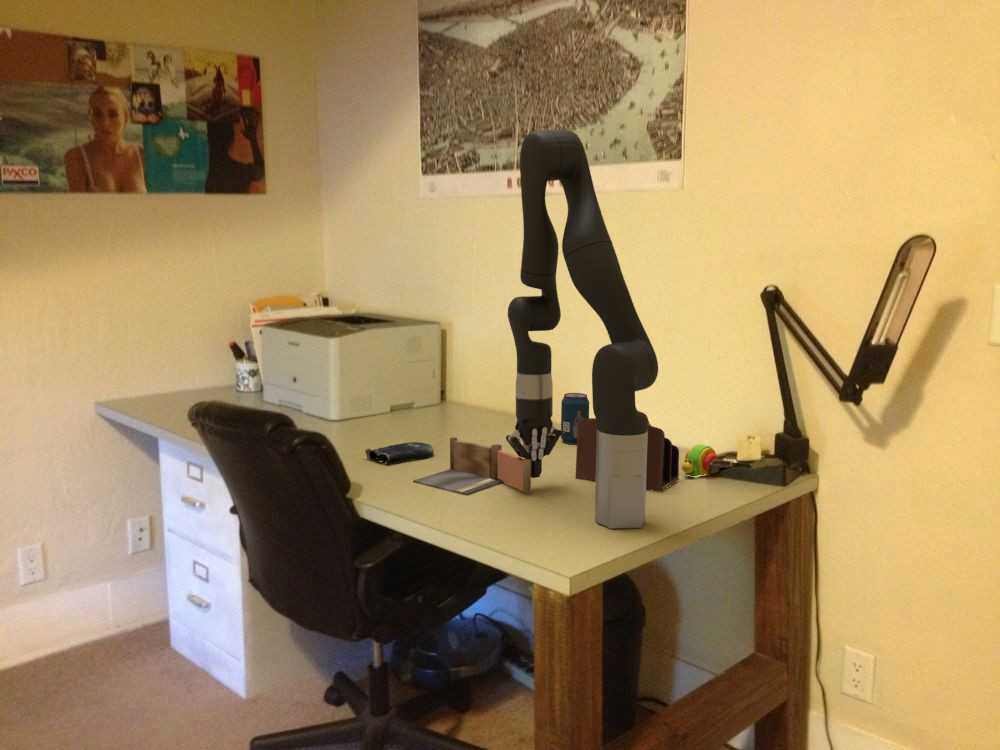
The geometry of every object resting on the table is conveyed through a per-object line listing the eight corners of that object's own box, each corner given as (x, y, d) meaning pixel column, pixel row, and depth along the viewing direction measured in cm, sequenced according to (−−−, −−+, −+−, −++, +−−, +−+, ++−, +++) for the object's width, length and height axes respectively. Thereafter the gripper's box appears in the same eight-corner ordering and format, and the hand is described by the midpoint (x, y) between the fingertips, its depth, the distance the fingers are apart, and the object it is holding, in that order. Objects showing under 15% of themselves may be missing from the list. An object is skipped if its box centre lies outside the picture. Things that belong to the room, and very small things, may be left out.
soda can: (573, 437, 234) (574, 391, 232) (594, 441, 229) (595, 394, 227) (555, 441, 229) (555, 394, 227) (576, 446, 224) (577, 398, 222)
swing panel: (496, 478, 193) (496, 448, 192) (503, 477, 194) (503, 448, 193) (525, 492, 183) (525, 461, 182) (532, 491, 184) (532, 460, 183)
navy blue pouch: (391, 474, 205) (442, 454, 215) (385, 451, 204) (437, 431, 214) (368, 471, 212) (418, 452, 222) (363, 448, 211) (413, 430, 221)
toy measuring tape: (671, 476, 199) (673, 446, 198) (725, 461, 211) (727, 433, 210) (695, 482, 194) (696, 452, 193) (749, 467, 206) (750, 438, 205)
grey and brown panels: (512, 479, 195) (513, 445, 194) (466, 495, 184) (466, 459, 183) (458, 466, 205) (458, 434, 204) (411, 481, 193) (411, 447, 192)
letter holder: (661, 493, 186) (663, 426, 184) (574, 479, 197) (575, 415, 194) (679, 482, 195) (681, 417, 192) (595, 468, 205) (596, 407, 203)
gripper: (549, 388, 192) (549, 468, 195) (496, 395, 185) (497, 477, 188) (571, 393, 186) (570, 476, 189) (517, 400, 179) (517, 486, 182)
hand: (534, 476), depth 188 cm, fingers closed
